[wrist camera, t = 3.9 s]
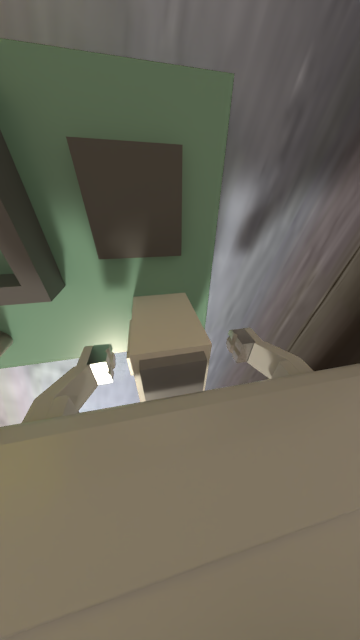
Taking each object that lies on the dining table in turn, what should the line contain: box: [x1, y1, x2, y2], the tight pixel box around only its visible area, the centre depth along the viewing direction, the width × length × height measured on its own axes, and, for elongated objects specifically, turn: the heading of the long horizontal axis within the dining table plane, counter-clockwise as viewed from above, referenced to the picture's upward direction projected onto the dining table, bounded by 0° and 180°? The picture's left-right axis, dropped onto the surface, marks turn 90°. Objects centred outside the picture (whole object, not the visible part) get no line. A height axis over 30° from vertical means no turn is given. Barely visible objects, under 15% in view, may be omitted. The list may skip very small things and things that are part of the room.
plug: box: [127, 293, 212, 402], centre depth 11 cm, size 4×5×7 cm
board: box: [0, 38, 234, 369], centre depth 10 cm, size 20×16×4 cm
